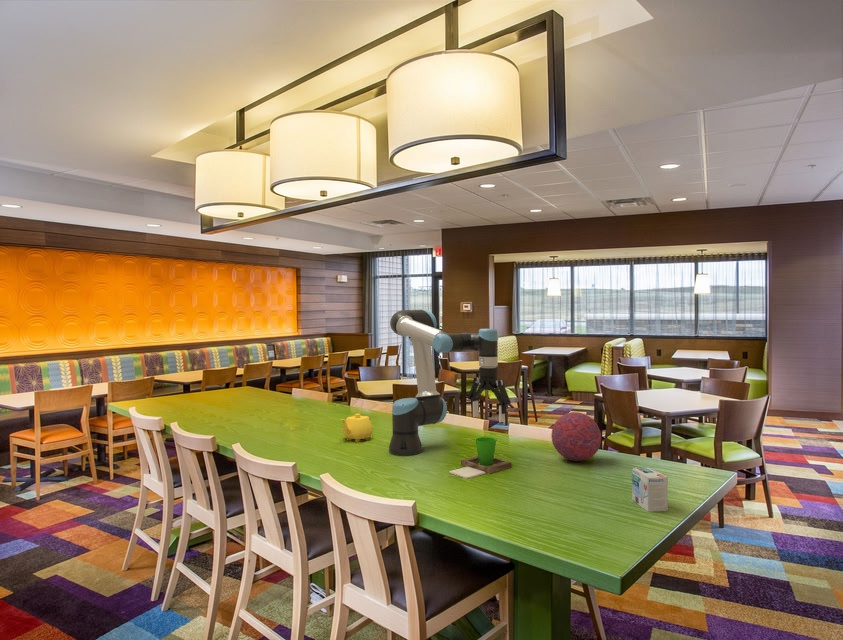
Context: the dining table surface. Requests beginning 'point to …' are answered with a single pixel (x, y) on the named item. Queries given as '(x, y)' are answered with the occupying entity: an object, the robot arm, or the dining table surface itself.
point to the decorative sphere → (576, 436)
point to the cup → (485, 450)
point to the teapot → (357, 427)
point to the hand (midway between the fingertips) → (488, 419)
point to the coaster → (467, 472)
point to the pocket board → (496, 467)
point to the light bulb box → (650, 489)
